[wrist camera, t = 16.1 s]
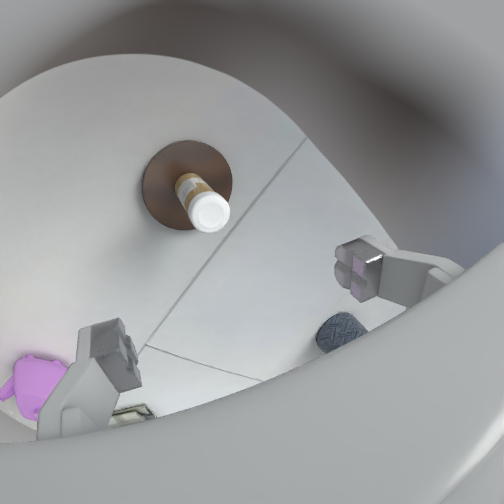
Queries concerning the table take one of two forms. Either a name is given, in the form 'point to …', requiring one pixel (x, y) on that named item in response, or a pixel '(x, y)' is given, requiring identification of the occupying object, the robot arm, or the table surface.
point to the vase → (339, 332)
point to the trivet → (171, 169)
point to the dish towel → (129, 416)
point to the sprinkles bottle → (202, 203)
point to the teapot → (32, 384)
